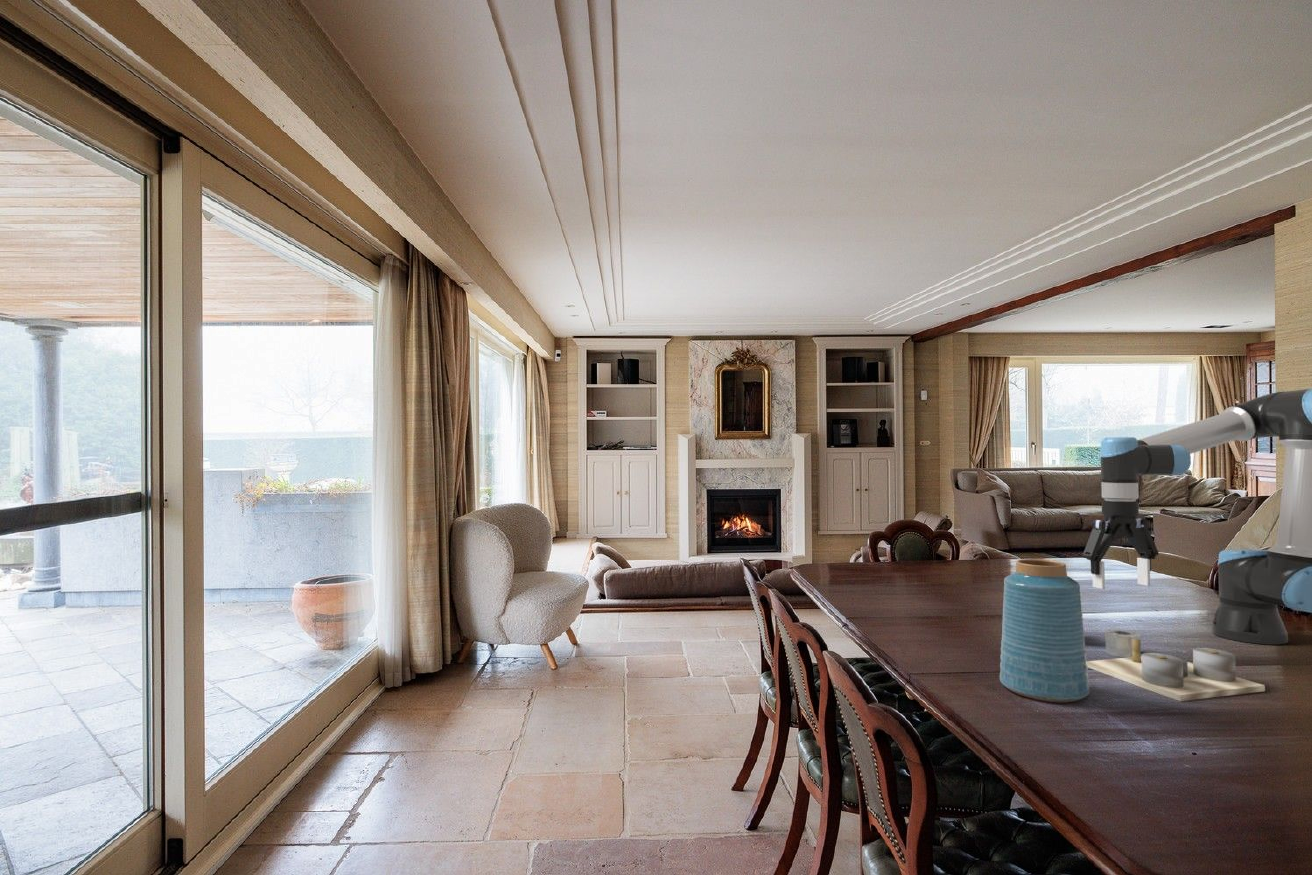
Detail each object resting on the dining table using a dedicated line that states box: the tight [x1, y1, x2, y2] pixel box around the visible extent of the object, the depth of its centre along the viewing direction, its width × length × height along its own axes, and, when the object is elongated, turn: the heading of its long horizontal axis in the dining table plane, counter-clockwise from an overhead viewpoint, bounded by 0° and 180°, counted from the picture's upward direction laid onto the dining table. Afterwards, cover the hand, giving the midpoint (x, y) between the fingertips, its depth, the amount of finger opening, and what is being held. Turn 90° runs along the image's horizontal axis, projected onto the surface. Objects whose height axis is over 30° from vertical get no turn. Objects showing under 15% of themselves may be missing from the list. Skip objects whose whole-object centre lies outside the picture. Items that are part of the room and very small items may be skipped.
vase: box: [999, 558, 1090, 703], centre depth 141 cm, size 16×16×27 cm
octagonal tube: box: [1104, 628, 1142, 658], centre depth 165 cm, size 7×7×5 cm
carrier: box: [1087, 639, 1266, 702], centre depth 147 cm, size 22×22×6 cm
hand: (1121, 586), depth 165 cm, fingers open, 13 cm apart
